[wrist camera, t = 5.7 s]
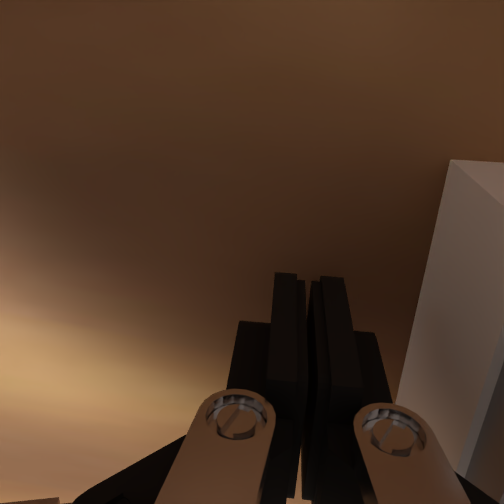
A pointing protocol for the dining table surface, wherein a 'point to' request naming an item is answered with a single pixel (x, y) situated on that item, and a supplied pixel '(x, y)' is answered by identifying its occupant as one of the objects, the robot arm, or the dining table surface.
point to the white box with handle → (463, 328)
